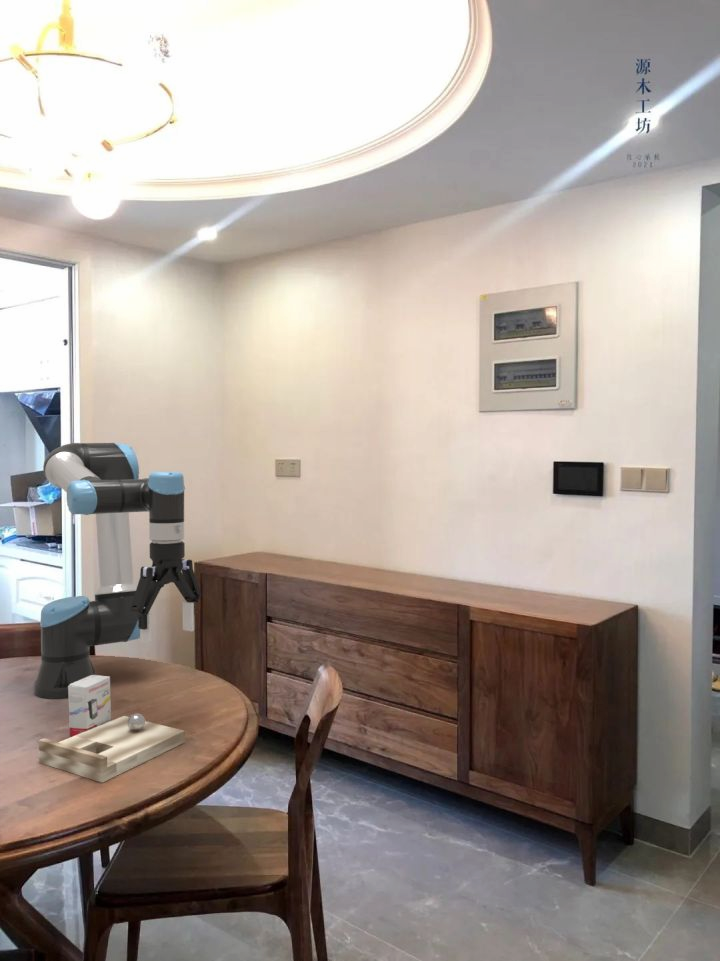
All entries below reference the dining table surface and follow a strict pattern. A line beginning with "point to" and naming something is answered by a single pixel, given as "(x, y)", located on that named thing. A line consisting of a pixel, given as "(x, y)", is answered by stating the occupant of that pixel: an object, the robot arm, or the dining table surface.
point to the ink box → (89, 703)
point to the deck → (109, 749)
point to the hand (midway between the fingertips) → (167, 636)
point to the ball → (136, 722)
